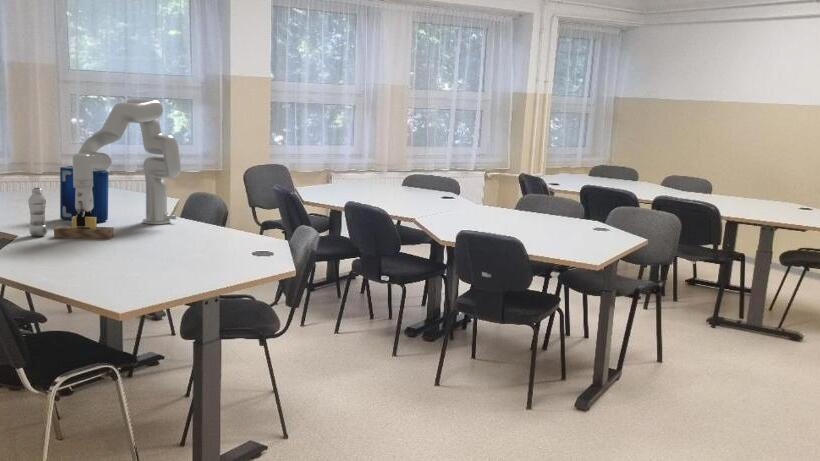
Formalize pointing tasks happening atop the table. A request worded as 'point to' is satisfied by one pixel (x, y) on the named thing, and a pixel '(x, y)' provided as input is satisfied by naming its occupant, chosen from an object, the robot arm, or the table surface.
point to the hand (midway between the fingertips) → (84, 224)
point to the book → (98, 191)
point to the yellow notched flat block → (88, 222)
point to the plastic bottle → (37, 213)
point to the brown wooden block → (84, 232)
